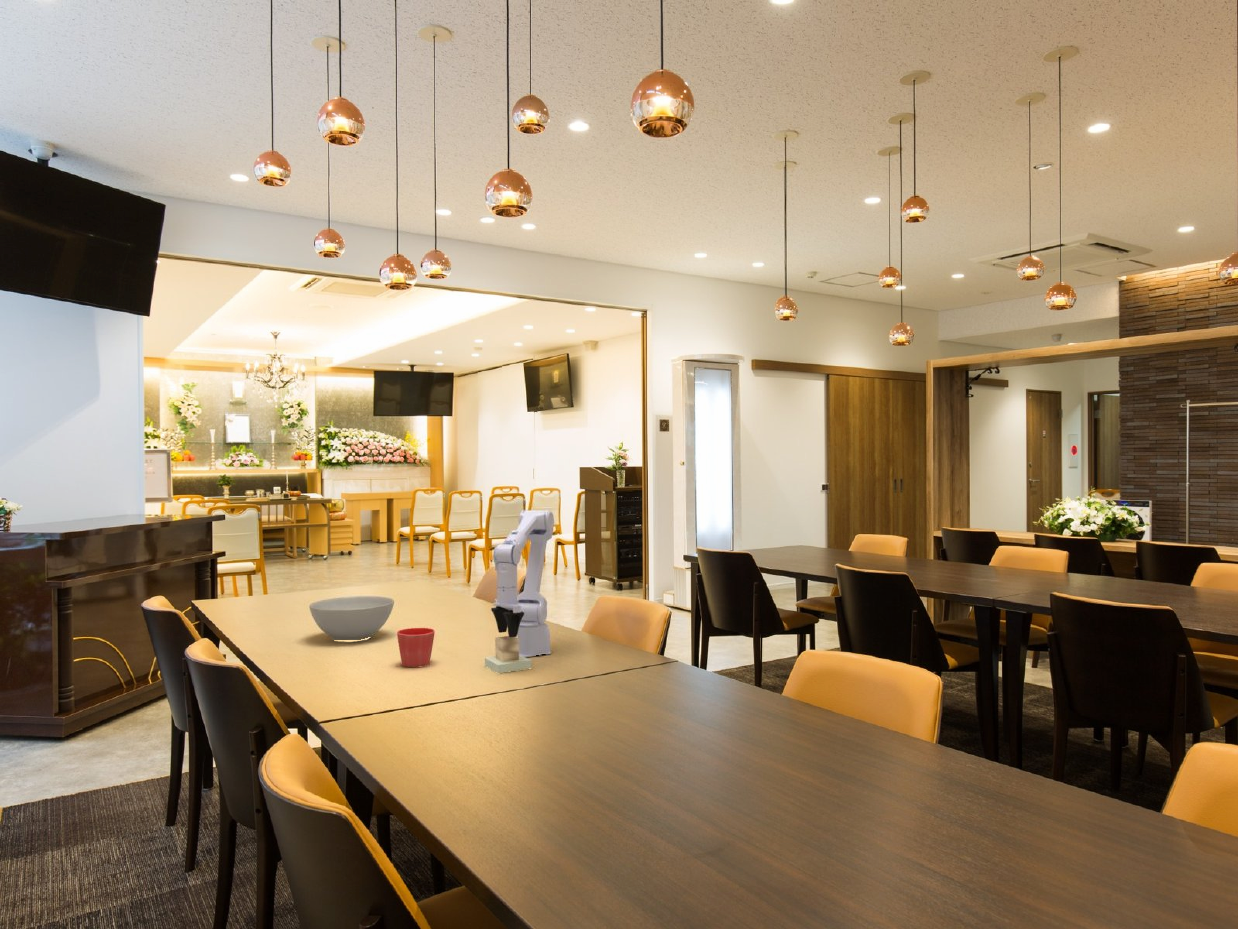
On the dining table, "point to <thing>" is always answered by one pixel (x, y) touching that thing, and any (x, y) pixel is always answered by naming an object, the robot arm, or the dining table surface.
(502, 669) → the base block
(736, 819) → the dining table surface
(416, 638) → the flower pot
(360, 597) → the decorative bowl
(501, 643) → the maple block
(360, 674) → the dining table surface
